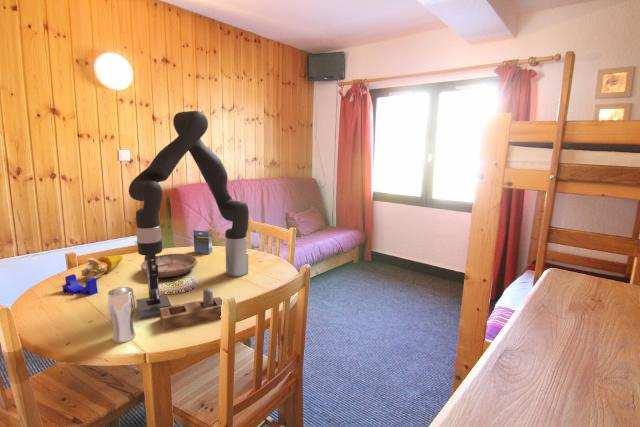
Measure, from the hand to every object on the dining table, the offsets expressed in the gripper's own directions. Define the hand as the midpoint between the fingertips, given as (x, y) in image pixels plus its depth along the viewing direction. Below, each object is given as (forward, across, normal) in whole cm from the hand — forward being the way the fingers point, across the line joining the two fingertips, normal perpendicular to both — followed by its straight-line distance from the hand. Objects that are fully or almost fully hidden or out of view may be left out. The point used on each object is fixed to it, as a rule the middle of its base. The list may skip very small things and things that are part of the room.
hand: (153, 286), depth 125 cm
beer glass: (+9, -15, +10) cm, 20 cm away
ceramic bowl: (+10, +37, -11) cm, 40 cm away
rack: (+9, -12, -11) cm, 18 cm away
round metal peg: (+4, 0, 0) cm, 4 cm away
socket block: (+9, 0, 0) cm, 9 cm away
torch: (+9, +48, +14) cm, 51 cm away
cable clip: (+9, +28, +23) cm, 38 cm away
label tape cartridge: (+10, +59, -31) cm, 67 cm away
